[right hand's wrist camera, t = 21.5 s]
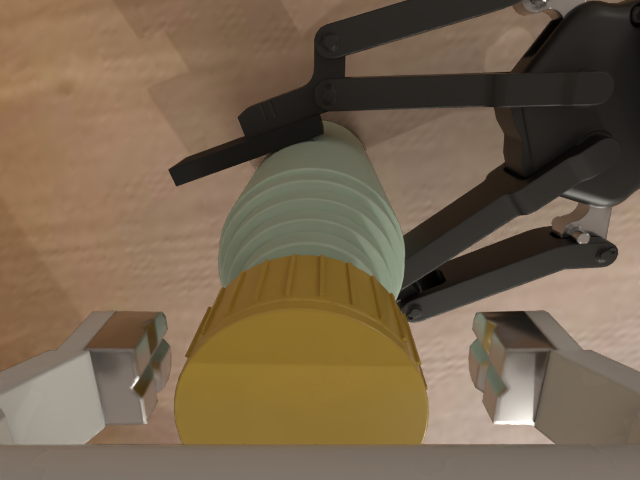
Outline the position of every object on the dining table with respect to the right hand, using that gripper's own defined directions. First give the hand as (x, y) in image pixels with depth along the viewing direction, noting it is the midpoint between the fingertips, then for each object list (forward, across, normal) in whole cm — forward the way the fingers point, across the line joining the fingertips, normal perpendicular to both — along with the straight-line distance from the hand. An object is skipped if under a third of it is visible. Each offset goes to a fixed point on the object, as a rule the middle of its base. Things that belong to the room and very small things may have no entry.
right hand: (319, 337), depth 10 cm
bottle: (+17, 0, 0) cm, 17 cm away
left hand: (+11, -5, -2) cm, 12 cm away
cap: (-2, 0, 0) cm, 2 cm away
